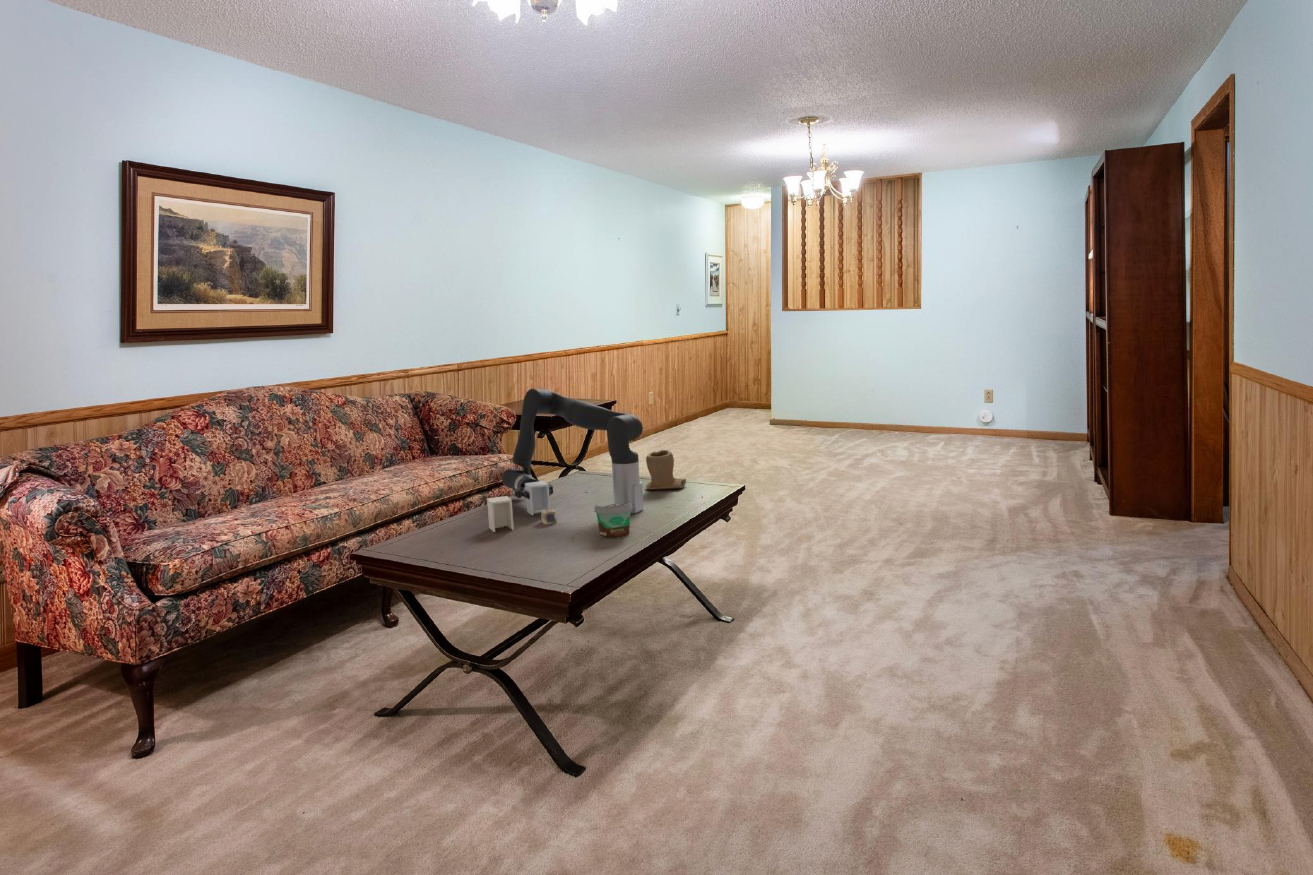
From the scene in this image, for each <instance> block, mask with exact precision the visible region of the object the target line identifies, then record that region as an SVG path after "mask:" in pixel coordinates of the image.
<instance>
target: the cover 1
mask: <svg viewBox="0 0 1313 875" xmlns="http://www.w3.org/2000/svg"><path fill="white" fill-rule="evenodd" d="M512 501H513V500H512V498H510V497H509V496H508V495H504V496H498V497H497V496H495V497H488V498H486V502H487V515H488V527H489V528H490V529H491V530H492V531H493V532H495V533H496V529H499V528H504V526H506V527H508V528H509V529H510V530H511V529H512V530H511V531H514V530H515V528H514V516H513V515H514V514H513V502H512ZM490 529H489V530H490ZM513 529H514V530H513ZM491 530H490V531H491ZM492 531H491V532H492ZM493 532H492V533H493Z"/></svg>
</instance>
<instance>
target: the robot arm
mask: <svg viewBox="0 0 1313 875" xmlns="http://www.w3.org/2000/svg"><path fill="white" fill-rule="evenodd" d="M522 401H523V402H522V407H521V409H522V410H521V417H520V425H519V431H518V432H519V433H518V439H517V441H516V445H515V449H514V452H513V456H512V463H514V464H515V465H518V466H519V467H521V468H522V469H521V470H520V469H518V468H517V469H516V468H510V467H509V468H506V469H505V470H504V471H503V472H502V474H501V482H502V485H504V487H507V488H508V489H512V496H513V497H514V498H516V499H521V498H524V499H526V498H527V499H530V494H529V492H527V491H526V490H525V483H531V482H539V480H537V479H536V478H534V477H533V476H531V464H532V459H533V457H534V453H535V450H536V442H537V441H536V436H535V431H534V424H535V423H534V422H535V420H536V417H537V414H538V415H540V414H542V415H555V416H558V417H561V418H564V420H565V421H566V422H567V423H569V424H570V425H572V426H574V427H575V426H576V427H579V428H581V429H584V430H585V429H586V430H592V431H593V430H597V431H606V437H607V445H608V446H607V448H608V453H609V456H610V460H611V472H612V473H611V474H612V475H611V477H612V488H613V490H612V492H613V493H612V494H613V495H612V496H613V504H624V503H628V500H630V502H631V504H632V509H631V510H630V514H637V513H639V512H642V511H643V510H644V498H643V494H644V492H643V482H641V481H640V479H641V478H640V463H639V461H640V460H639V458H640V457H639V454H638V452H636V451H633V450H631V448H630V442H632V441H635V440H637V439H638V438H640V436H641V435H642V434H643V430H644V427H643V423H642V422H641V420H640V419H639V417H638V416H636V415H634V414H632V413H627V412H619V411H614V410H611V409H608V408H605V407H602V406H599V405H597V404H596V405H595V404H593V403H590V402H587V401H584V400H581V399H576V398H569V397H566V396H563V395H561V394H559V393H557V392H555V391H553V390H551V389H547V388H530V389H528V390H527V391H526V393H525V395H524V397H523V400H522ZM548 484H549V497H551V496H552V495H553V494H554V486H553V485H552V484H551V483H548Z"/></svg>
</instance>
